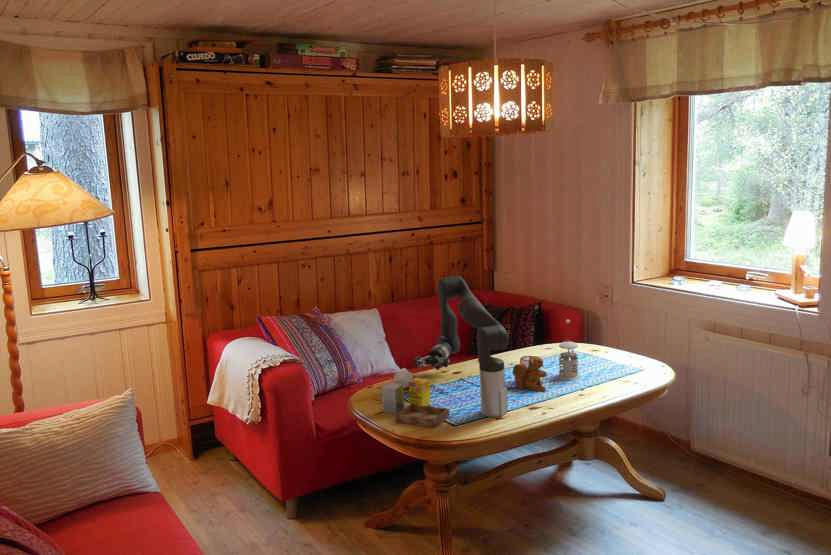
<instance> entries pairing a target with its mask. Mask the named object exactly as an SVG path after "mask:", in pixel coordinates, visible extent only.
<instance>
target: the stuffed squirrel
mask: <svg viewBox="0 0 831 555" xmlns="http://www.w3.org/2000/svg"><path fill="white" fill-rule="evenodd" d="M528 358H529V359H528V367H527V366H526V364H525V363H516V364H514V366H512V369H513V370H512V374H513V376H514V377H513V378H514V382H515V383H514V385H515V386H516V388H519V389H520V390H525V389H526V390H529V391H533V392H546V390H547V387H545V386H544V385H543V384H544V381H542V378H546V377H547V376H548V373H547V372H546V371H545V370H543V369H541V368H542V367H543V368H544V360H543V359H542V358H541V357H539V356H535V355H533V356H532V355H529V357H528Z"/></svg>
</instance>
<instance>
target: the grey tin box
mask: <svg viewBox="0 0 831 555" xmlns="http://www.w3.org/2000/svg"><path fill="white" fill-rule="evenodd" d="M381 398H382V399H381V401H382V413H383V414H390V415H391V414H392V415H396V414H398V413H399V412H400V411H402V410H403V409H405V398H404V389H403V385H402V384H394V383H393V382H392V383H391V382H388V383H387V384H385V385H384V386H382V387H381Z"/></svg>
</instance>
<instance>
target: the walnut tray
mask: <svg viewBox="0 0 831 555" xmlns="http://www.w3.org/2000/svg"><path fill="white" fill-rule="evenodd" d="M395 416H396V423H399V424H405V425H406V424H407V425H413V426H419V427H426V428H433V429H434V428H435V429H436V428H437V427H438V426H440V425H441V424H442V423H443V422H445V421H446V420H448V419H449V418H450V417H449V416H450V408H446V407H438V406H425V405H417V404H411V405H410V404H409V405H408V406H407V407H404V409H403V410H402V411H400V412H399V413H398V414H395Z"/></svg>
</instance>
